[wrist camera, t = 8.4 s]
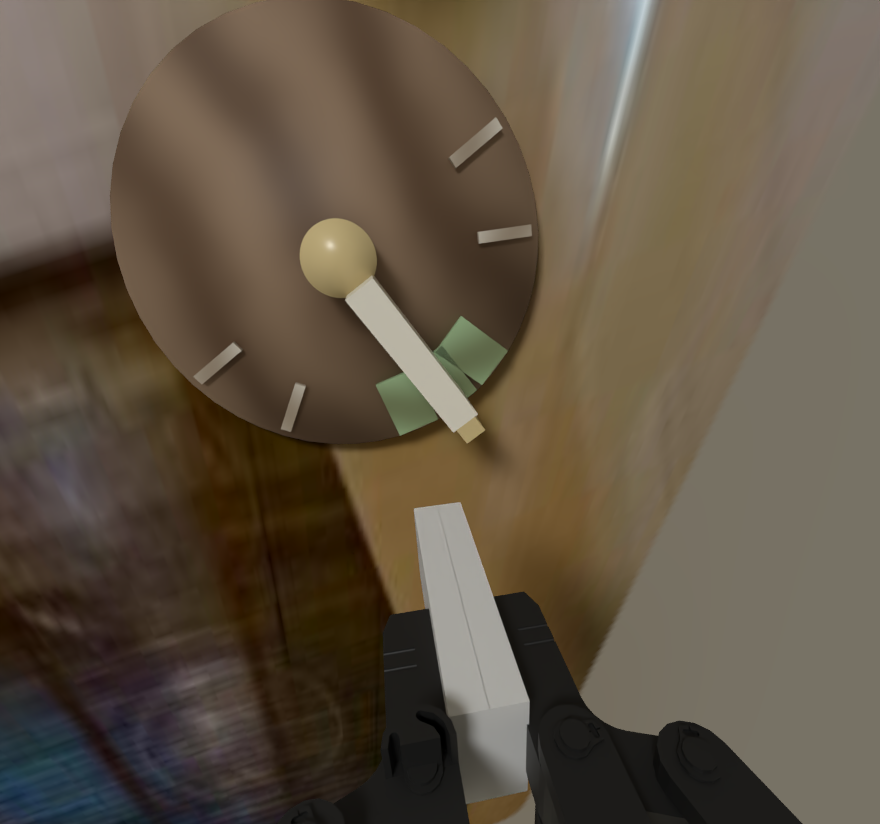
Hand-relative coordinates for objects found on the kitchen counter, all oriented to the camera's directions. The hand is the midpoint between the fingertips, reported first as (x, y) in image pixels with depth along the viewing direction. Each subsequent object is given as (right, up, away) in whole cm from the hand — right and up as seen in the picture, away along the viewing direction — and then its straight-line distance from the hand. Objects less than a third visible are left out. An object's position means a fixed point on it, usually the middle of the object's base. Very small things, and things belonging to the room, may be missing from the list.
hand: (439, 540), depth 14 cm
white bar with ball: (-3, +9, +11) cm, 14 cm away
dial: (-5, +13, +10) cm, 17 cm away
